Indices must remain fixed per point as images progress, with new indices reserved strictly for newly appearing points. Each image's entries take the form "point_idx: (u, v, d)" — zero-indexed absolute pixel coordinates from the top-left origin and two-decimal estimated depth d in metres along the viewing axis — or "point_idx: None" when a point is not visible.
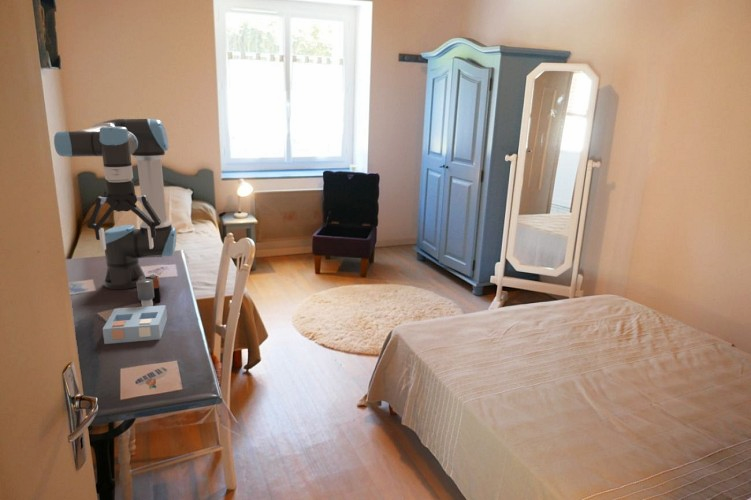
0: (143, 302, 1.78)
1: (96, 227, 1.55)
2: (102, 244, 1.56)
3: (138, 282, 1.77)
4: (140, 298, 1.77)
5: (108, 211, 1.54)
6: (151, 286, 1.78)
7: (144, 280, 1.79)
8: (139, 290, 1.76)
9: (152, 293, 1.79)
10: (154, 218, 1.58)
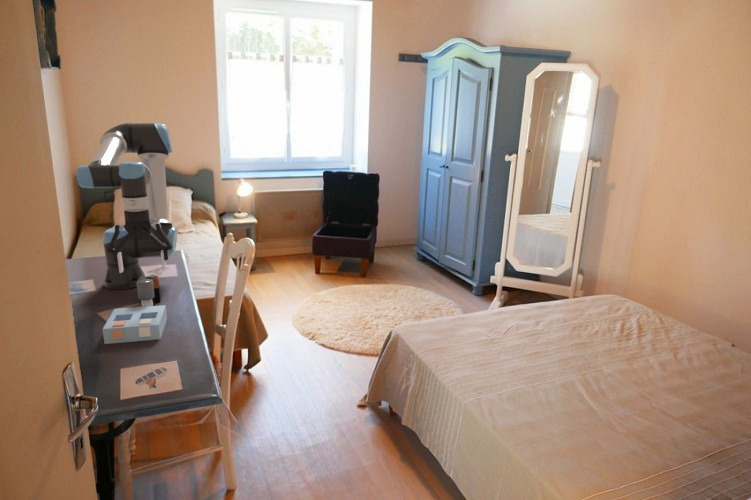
0: (143, 302, 1.78)
1: (115, 251, 1.72)
2: (120, 266, 1.73)
3: (138, 282, 1.77)
4: (140, 298, 1.77)
5: (126, 237, 1.71)
6: (151, 286, 1.78)
7: (144, 280, 1.79)
8: (139, 290, 1.76)
9: (152, 293, 1.79)
10: (167, 243, 1.75)
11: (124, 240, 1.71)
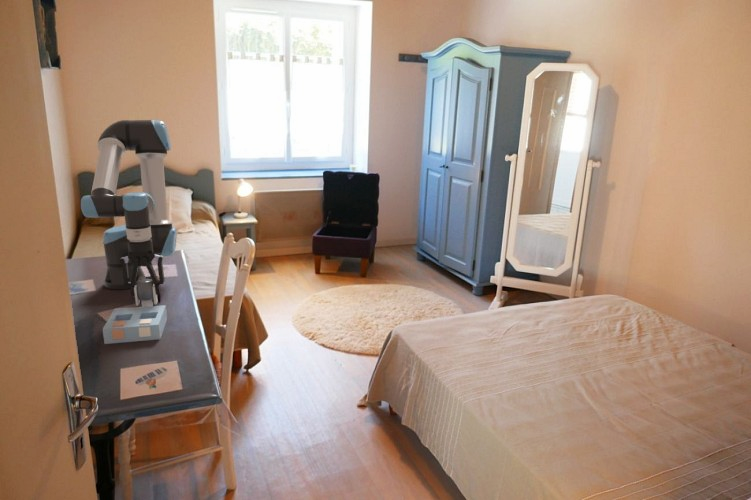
0: (143, 302, 1.78)
1: (131, 285, 1.76)
2: (137, 300, 1.78)
3: (138, 282, 1.77)
4: (140, 298, 1.77)
5: (134, 268, 1.75)
6: (151, 286, 1.78)
7: (144, 280, 1.79)
8: (139, 290, 1.76)
9: (152, 293, 1.79)
10: (161, 277, 1.78)
11: (134, 272, 1.75)
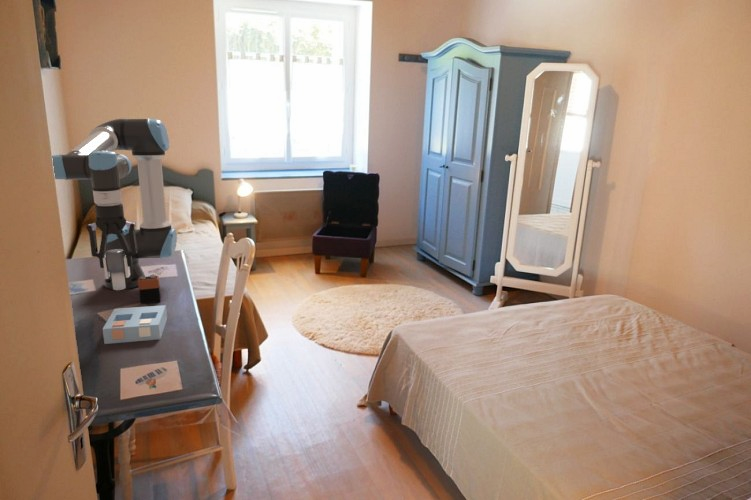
0: (113, 275, 1.60)
1: (100, 256, 1.58)
2: (106, 272, 1.60)
3: (107, 252, 1.59)
4: (110, 270, 1.59)
5: (102, 236, 1.56)
6: (122, 257, 1.60)
7: (115, 250, 1.61)
8: (108, 261, 1.58)
9: (123, 265, 1.60)
10: (133, 247, 1.60)
11: (103, 240, 1.57)
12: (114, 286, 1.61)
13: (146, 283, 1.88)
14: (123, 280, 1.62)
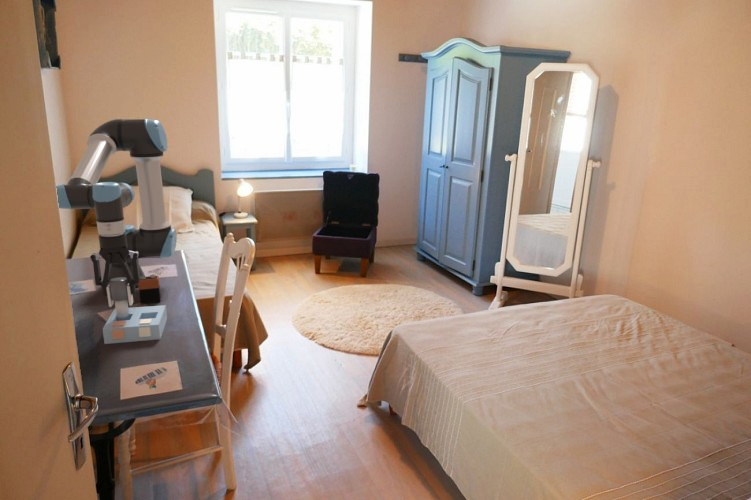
0: (117, 303, 1.63)
1: (103, 284, 1.60)
2: (110, 300, 1.62)
3: (111, 280, 1.61)
4: (113, 298, 1.61)
5: (106, 266, 1.59)
6: (125, 285, 1.62)
7: (118, 279, 1.63)
8: (112, 290, 1.61)
9: (126, 293, 1.63)
10: (136, 275, 1.62)
11: (106, 270, 1.59)
12: (117, 314, 1.64)
13: (146, 283, 1.88)
14: (126, 308, 1.65)
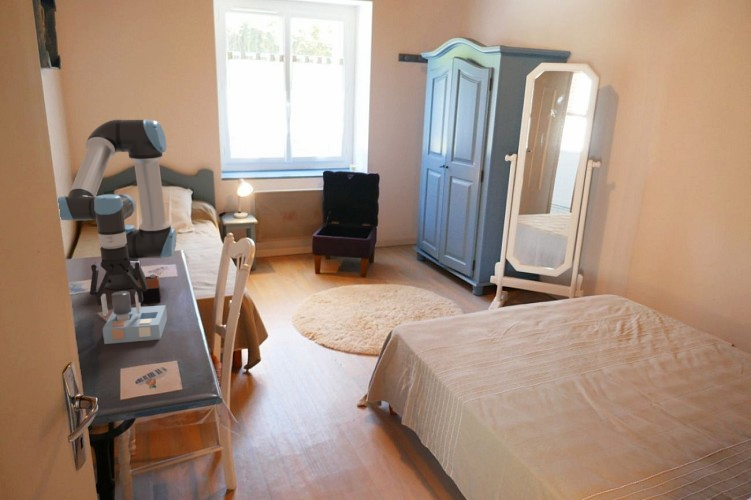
0: (119, 316, 1.64)
1: (98, 294, 1.61)
2: (104, 309, 1.63)
3: (114, 294, 1.63)
4: (115, 312, 1.63)
5: (105, 277, 1.60)
6: (128, 299, 1.64)
7: (121, 292, 1.65)
8: (114, 303, 1.62)
9: (129, 307, 1.64)
10: (142, 284, 1.63)
11: (104, 280, 1.60)
12: None
13: None
14: None
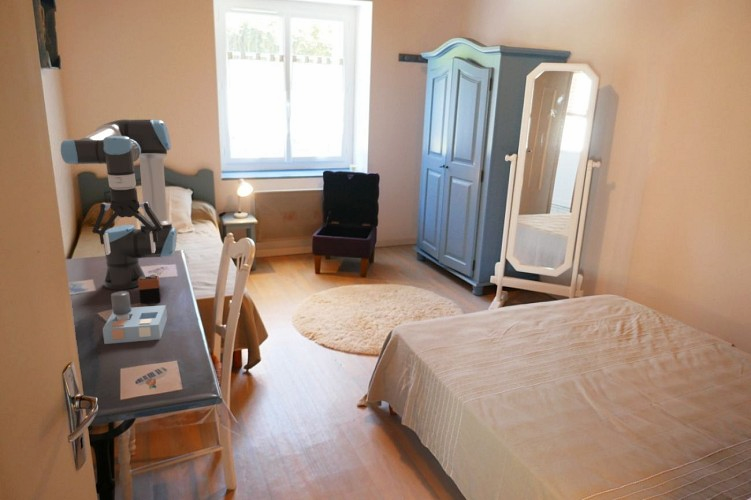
0: (118, 317, 1.64)
1: (101, 232, 1.62)
2: (106, 248, 1.63)
3: (113, 294, 1.63)
4: (115, 312, 1.63)
5: (112, 217, 1.61)
6: (127, 299, 1.63)
7: (120, 293, 1.64)
8: (114, 304, 1.62)
9: (128, 307, 1.64)
10: (156, 224, 1.65)
11: (110, 220, 1.61)
12: None
13: (146, 283, 1.88)
14: None
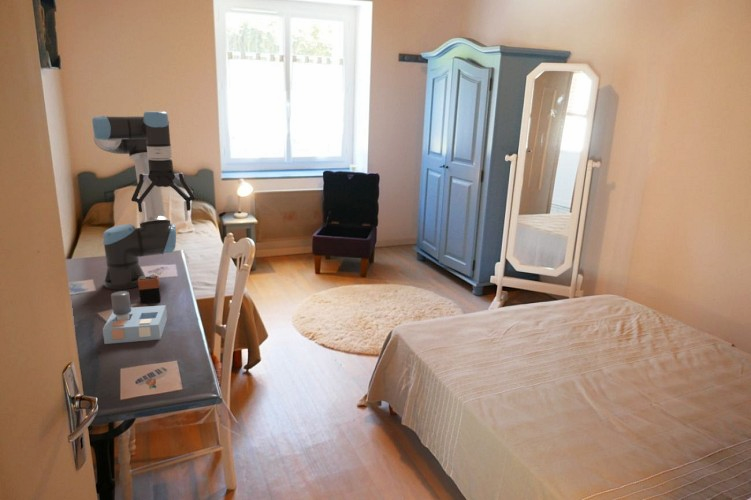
0: (118, 317, 1.64)
1: (139, 200, 1.75)
2: (144, 216, 1.77)
3: (113, 294, 1.63)
4: (115, 312, 1.63)
5: (150, 186, 1.74)
6: (127, 299, 1.63)
7: (120, 293, 1.64)
8: (114, 304, 1.62)
9: (128, 307, 1.64)
10: (190, 193, 1.78)
11: (148, 189, 1.75)
12: None
13: (146, 283, 1.88)
14: None
